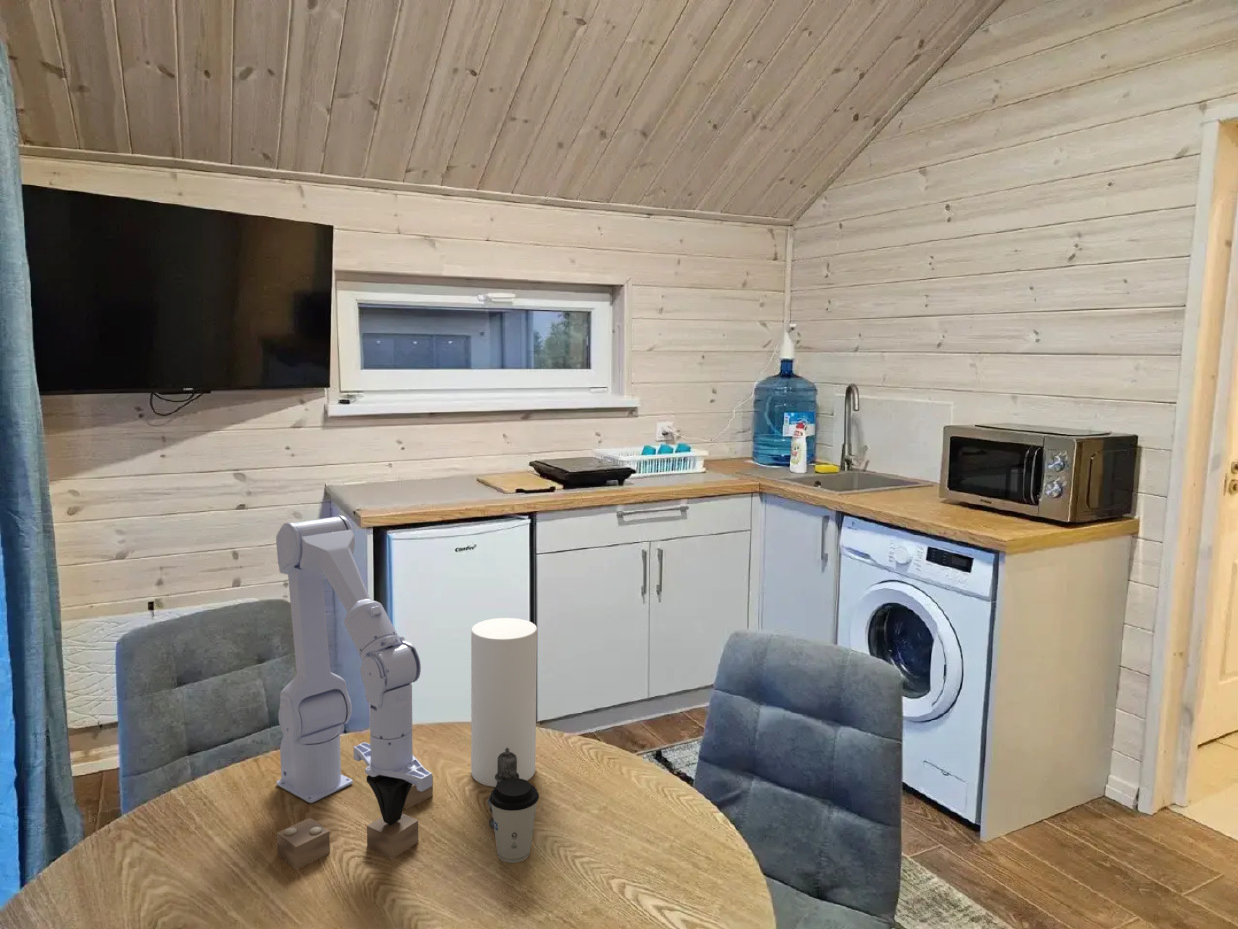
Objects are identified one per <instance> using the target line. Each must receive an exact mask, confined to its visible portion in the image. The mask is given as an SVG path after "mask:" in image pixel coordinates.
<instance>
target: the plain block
mask: <svg viewBox="0 0 1238 929" xmlns="http://www.w3.org/2000/svg"><path fill="white" fill-rule="evenodd" d="M417 843H419V820H418V819H416V818H413V817H411V816H410V815H407V814H404V813H403V812H402V816H401V819H400V820H398V821H396V822H395V823H393V824H391V825H389V824H387V823H385V822H384V820H383V817H382V816H380V817H378V818H377V819H375V820H374V821H372V822H371V823H369V824H367V825H366V847H367V848H368V849H370V850H372V851H373V852H376V853H379V854H381V855H382V856H384V857H387V858H389V859H391V860H394V859H395V858H396V857H398V856H400V855H401V854H402V853H404V852H405V851H407V850H408V849H410V848H411V847H413V846H414V845H416V844H417Z"/></svg>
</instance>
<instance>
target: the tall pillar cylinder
mask: <svg viewBox="0 0 1238 929" xmlns="http://www.w3.org/2000/svg"><path fill="white" fill-rule="evenodd" d="M470 633H471V635H470V636H471V640H470V641H471V642H470V644H471V649H470V650H471V654H470V655H471V659H470V660H471V662H470V663H471V664H470V665H471V667H470V668H471V669H470V670H471V673H470V674H471V676H470V677H471V679H470V680H471V681H470V682H471V683H470V684H471V686H470V687H471V688H470V689H471V690H470V691H471V695H470V696H471V704H470V706H471V708H470V709H471V711H470V712H471V714H470V717H471V722H470V728H471V730H470V731H471V733H470V734H471V735H470V736H471V737H470V738H471V739H470V740H471V741H470V743H471V744H470V745H471V746H470V751H471V752H470V753H471V754H470V755H471V756H470V757H471V758H470V759H471V760H470V762H471V763H470V764H471V767H470V770H471V772H470V773H471V777H472V778H473V779H474V780H475V781H476V782H477V783H479V784H480V785H481V784H482V785H483V786H486V787H487V786H488V787H494V788H495V787H496V785H497V781H496V779H495V775H496V774H497V761H498V756H499V755H500V754H501V753H503V752H506V751H505V749H506V748H507V747H508V748H509V752H512V753H514V754H515V755H516V757H517V773H518V774H519V779H524V780H527V781H529V780H530V779H531V778H532V777H533V776H534V774H535V773H536V755H537V754H536V750H537V746H536V745H537V744H536V741H537V740H536V739H537V737H536V736H537V731H536V730H537V673H538V672H537V666H538V663H537V662H538V661H537V659H538V658H537V656H538V654H537V652H538V627H537V625H536V624H535V623H534V622H532V621H529V620H526V619H522V618H513V617H497V618H489V619H486V620H482V621H480V622H477V623H476V624H474V625H473V626H472V627H471V632H470Z"/></svg>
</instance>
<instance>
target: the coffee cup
mask: <svg viewBox="0 0 1238 929" xmlns="http://www.w3.org/2000/svg"><path fill="white" fill-rule="evenodd" d="M488 798H489V801H490V802H491V806H492V814H493V815H492V814H491V815H492V817H493V822H494V830H493V831H494V839H495V845H496V855H497V857H498V859H500V860H501V861H502V862H504V863H509V864H515V863H516V864H517V863H520V862H524V860H526V859H528V858H529V856H530V854H531V847H532V839H533V833H534V826H535V818H536V814H537V813H536V812H537V805H538V801H539V798H540V793H539V792H538V789H537V787H535V785H532V783H530V781H529V780H524V779H519V778H513V779H505V780H501V781H500V782H498V783H497V785H496V787H494V788H493V789H492V790H491V792H490V793H489V796H488Z"/></svg>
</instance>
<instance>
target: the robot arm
mask: <svg viewBox="0 0 1238 929" xmlns="http://www.w3.org/2000/svg"><path fill="white" fill-rule="evenodd" d="M355 537H356V536H355V534H354V529H353V526H352V524H351V522H350V521H349V520H348V518H346V516H344V515H341V514H339V515H335V516H331V517H323V518H318V519H310V520H303V521H297V522H284V523H283V524H282V525H281V527H280V528H279V530H278V532H277V534H276V536H275V538H276V539H275V541H276V553H277V564H278V569H279V573H280V574H284V575H287V578H288V589H289V591H288V592H289V601H290V611H291V612H290V613H291V622H292V623H291V624H292V634H293V646H294V656H295V667H296V675H295V676H294V677H293V678H292V679H291V681H290V682H289V683H287V685H286V686H285V687H284V688H282V690H281V691H280V696H279V700H280V701H279V709H278V723H279V727H280V730H281V732H282V734H283V736H282V738H281V741H280V745H279V746H280V747H279V748H280V749H279V753H280V755H279V756H280V779H278V780H277V781H276V785H277V786H278V787H280V788H282V789H284V790H285V791H287V792H289V793H290V794H293V795H295V796H296V797H299V798H300V799H302V800H304V801H305V802H307V803H309V804H313V803H315V802H317V801H319V800H321V799H323V798H325V797H327V796H329V795H332V794H334V793H335V792H337V791H340V790H342V789H344V788H346V787H348V786H350V785H351V784H353V782H354V781H353V779H352V778H349V777H348V776H346V775H344V774H342V765H341V764H342V762H341V758H342V757H341V733H342V732H344V731H345V724H348V722H350V719H351V715H352V712H353V711H352V710H353V707H352V701H351V698H350V695H349V692H348V688H347V687H348V686H347V681H346V680H345V679H344V678H343V677H342V676H340V675H338V674H336V673H333V672H331V663H330V660H331V659H330V651H329V640H328V639H329V638H328V627H327V617H326V604H325V593H324V582H323V581H324V580H323V576H324V577H325V578H326V580H327V581H328V583H329V584H330V586H331V587H332V590H333V591H334V592H335V594H336V596H337V597H338V599H339V600H340V602H341V604H342V605H343V607H344V608H345V610H346V611H347V613H346V614H345V617H344V620H343V623H344V626H345V628H346V630H347V633H348V634H349V636H350V638H351V640H352V642H353V645H354V646H355V648H356V651H357V652H358V654H359V657H360V658H361V661H362V662H361V666H360V667H359V670H360V677H361V680H362V683H363V685H364V691H365V695H364V696H365V699H366V702H367V703H368V704H369V733H370V735H369V736H370V738H369V739H370V741H369V742H370V743H368V742H366V741H364V742H361V743H359V744H357V745H355V746H353V760H355V761H356V762H360V761H363V762H364V764H365V765H366V766H367V767H365V768H364V770H365V771H364V773H365V774H366V783H367V784H368V785H369V787H370V788H371V790H372V791H373V794H374V796H375V799H376V801H377V803H378V807H379V810H380V813H381V817H383V820H384V822H385V823H387V824H389V825H391V824H393V823H395V822H396V821H398V820H400V819H401V816H402V813H403V811H404V808H405V807H404V804H405V801H406V798H407V795H408V793H409V791H410V789H411V787H412V785H413V784H414V785H416V786H417V790H419V791H421V792H422V791H424V790H426V789H428V788H429V787H431V786H432V776H433V773H432V772H431V771H429V770H427V769H426V768H425V766H423V765H422V763H421V762H420V761H419V760H418V759H417V757H416V756H414V754H413V684H412V683H416V682H417V681H418V679H419V678H420V676H421V669H422V666H421V659H420V657H419V653H418V651H417V648H416V647H415V646H414V645H413V644H412V643H411V642H410V641H408V640H406V639H405V637H404V636H403V635H401V636H399V635H398V633H397V630H396V629H395V627H394V625H393V623H392V621H391V620H390V618H389V615H388V614H387V612H386V610H385V608H384V606H383V605H382V603H381V602H379V601H377V600H374V599H373V600H372V599H371V597H370V595H369V593H368V590H367V587H366V584H365V583H364V580H363V578H362V575H361V573H360V570H359V568H358V566H357V562H356V560H355V557H354V552H355V545H356V544H355V541H356V540H355V539H356V538H355Z"/></svg>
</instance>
